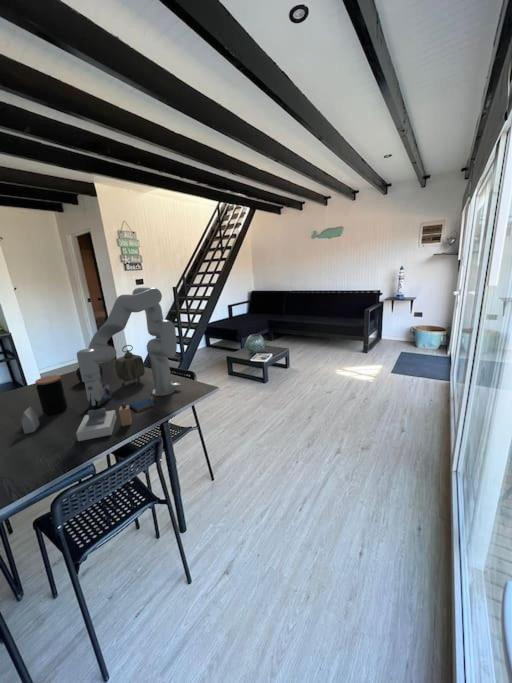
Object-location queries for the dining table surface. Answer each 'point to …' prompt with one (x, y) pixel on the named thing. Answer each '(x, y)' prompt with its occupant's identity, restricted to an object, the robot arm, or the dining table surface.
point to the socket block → (96, 427)
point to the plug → (125, 414)
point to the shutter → (96, 416)
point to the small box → (105, 392)
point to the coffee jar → (51, 395)
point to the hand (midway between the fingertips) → (98, 412)
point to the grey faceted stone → (30, 420)
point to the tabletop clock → (129, 367)
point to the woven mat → (142, 404)
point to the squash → (80, 373)
